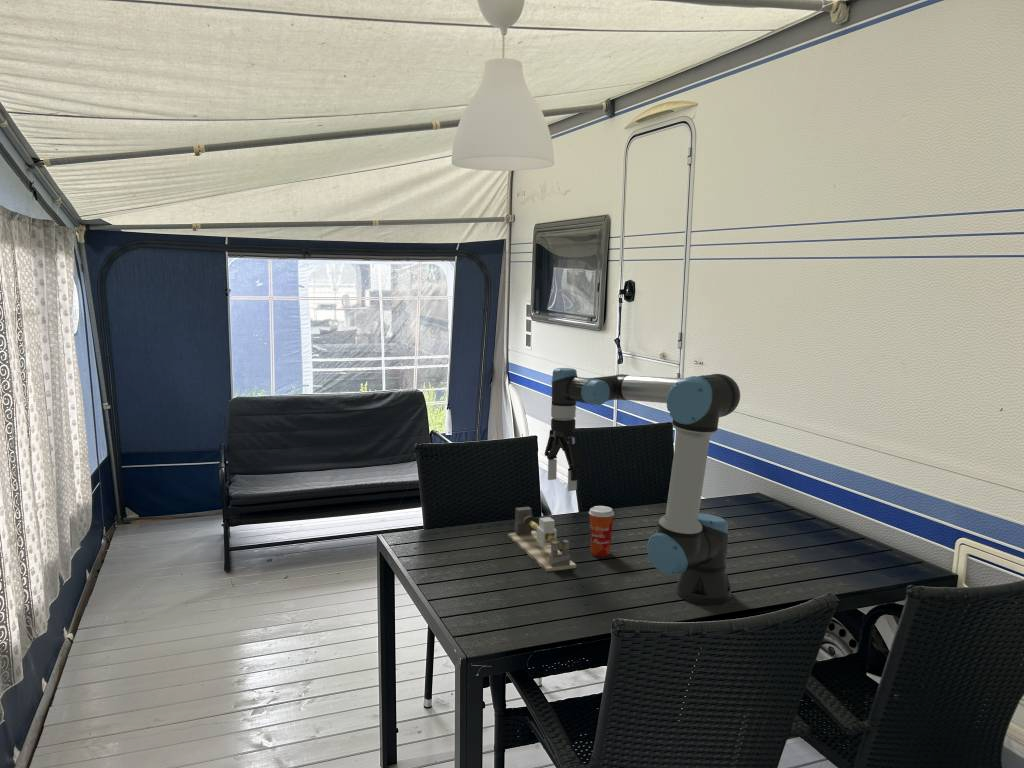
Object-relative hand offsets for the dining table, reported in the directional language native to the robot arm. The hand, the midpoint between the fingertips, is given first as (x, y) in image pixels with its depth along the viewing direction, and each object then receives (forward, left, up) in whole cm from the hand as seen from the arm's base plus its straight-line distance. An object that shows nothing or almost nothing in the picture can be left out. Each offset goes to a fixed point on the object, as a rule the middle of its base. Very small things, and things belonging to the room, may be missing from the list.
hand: (561, 484), depth 240 cm
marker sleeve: (+5, +2, -20) cm, 21 cm away
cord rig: (+10, +2, -25) cm, 27 cm away
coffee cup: (+2, -16, -25) cm, 30 cm away
